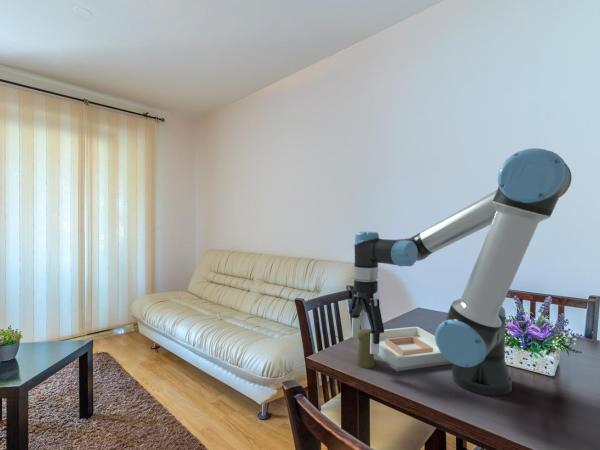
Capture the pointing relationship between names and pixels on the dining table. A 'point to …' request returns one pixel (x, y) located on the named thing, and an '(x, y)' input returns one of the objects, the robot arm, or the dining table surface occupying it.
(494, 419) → the dining table surface
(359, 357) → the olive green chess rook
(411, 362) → the walled box
